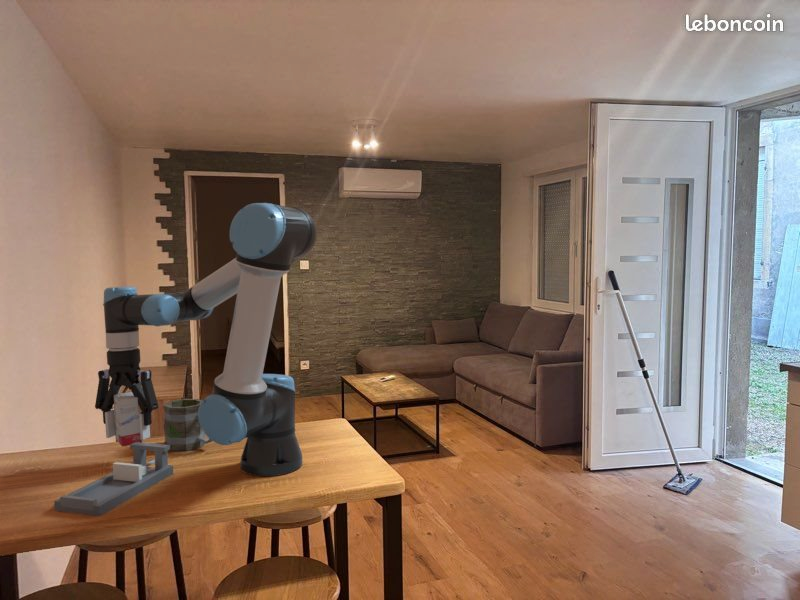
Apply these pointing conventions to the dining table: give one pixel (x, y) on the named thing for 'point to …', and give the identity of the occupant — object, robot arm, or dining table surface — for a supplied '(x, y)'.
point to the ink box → (126, 418)
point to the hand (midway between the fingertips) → (128, 437)
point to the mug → (183, 425)
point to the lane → (117, 484)
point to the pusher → (130, 471)
